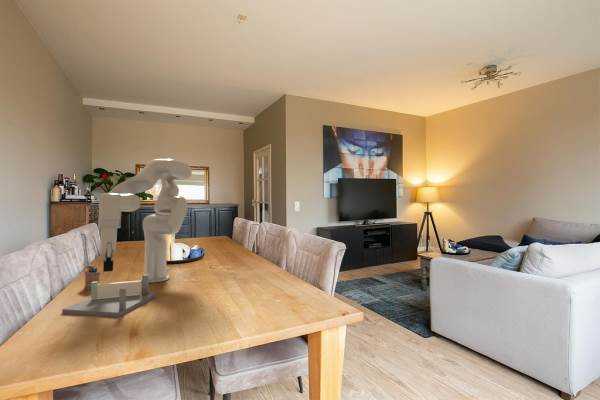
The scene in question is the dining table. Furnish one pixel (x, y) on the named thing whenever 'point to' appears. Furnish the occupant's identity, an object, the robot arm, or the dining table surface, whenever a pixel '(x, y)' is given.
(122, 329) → the dining table surface
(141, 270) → the dining table surface
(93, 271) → the lighter
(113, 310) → the base
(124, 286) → the pale rectangular block
